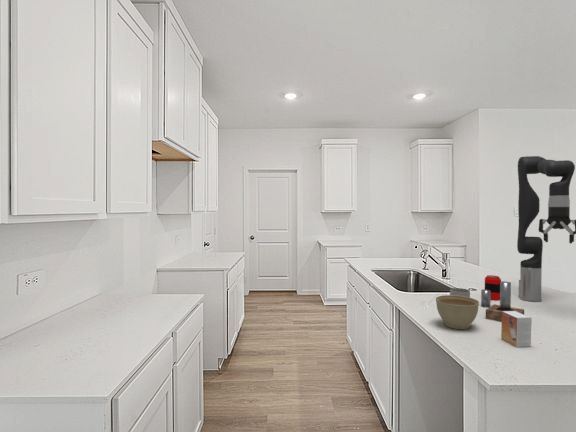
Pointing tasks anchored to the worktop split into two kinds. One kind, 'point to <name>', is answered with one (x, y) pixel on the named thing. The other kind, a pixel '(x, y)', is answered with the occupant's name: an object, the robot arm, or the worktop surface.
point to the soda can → (493, 286)
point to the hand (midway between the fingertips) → (558, 242)
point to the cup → (460, 292)
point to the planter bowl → (457, 310)
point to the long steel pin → (505, 296)
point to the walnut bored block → (498, 312)
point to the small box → (516, 328)
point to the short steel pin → (485, 298)
